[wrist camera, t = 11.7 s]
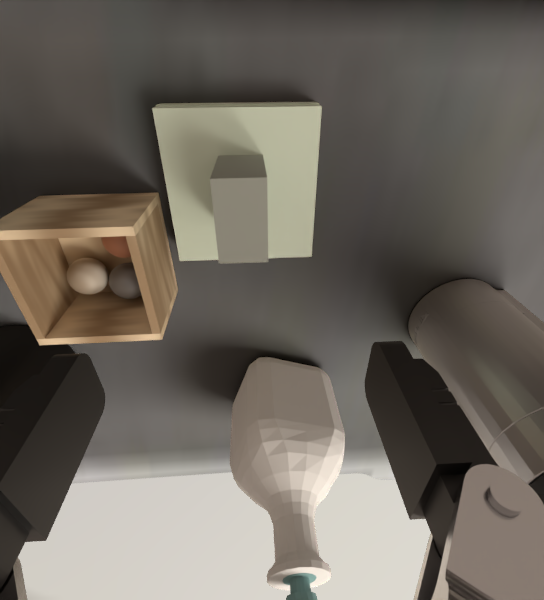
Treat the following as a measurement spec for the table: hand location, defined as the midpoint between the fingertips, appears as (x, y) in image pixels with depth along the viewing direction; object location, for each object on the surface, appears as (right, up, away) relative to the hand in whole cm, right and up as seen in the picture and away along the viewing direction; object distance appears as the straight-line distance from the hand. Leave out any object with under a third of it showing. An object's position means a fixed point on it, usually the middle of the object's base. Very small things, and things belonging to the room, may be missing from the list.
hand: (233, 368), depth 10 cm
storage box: (-12, +6, +19) cm, 23 cm away
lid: (-1, +11, +16) cm, 20 cm away
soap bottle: (+2, -8, +30) cm, 31 cm away
